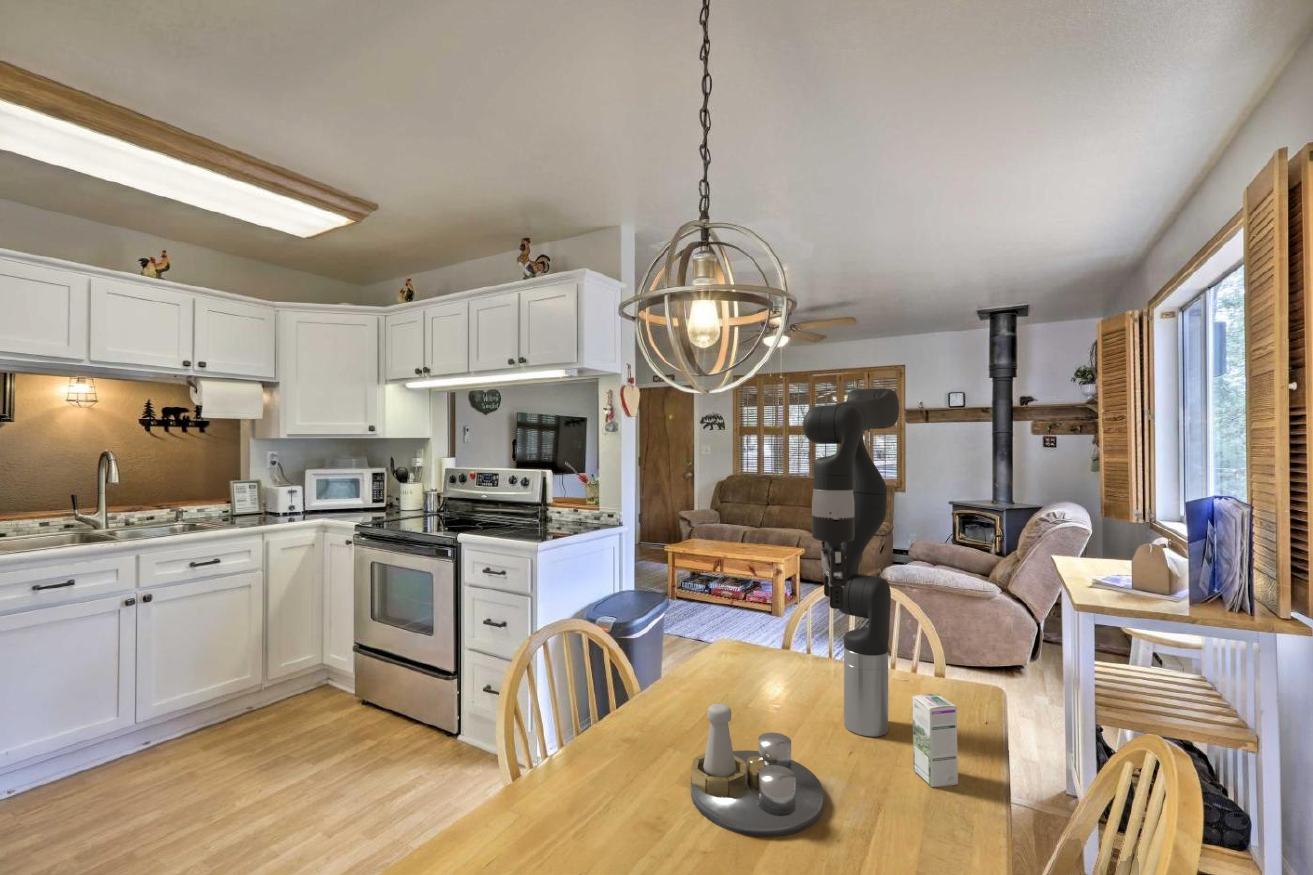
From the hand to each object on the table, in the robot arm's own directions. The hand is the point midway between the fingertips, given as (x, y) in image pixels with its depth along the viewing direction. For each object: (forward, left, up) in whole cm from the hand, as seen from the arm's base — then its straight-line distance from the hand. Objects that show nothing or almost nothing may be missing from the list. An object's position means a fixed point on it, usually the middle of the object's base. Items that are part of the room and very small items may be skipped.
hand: (833, 602), depth 111 cm
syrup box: (-5, +19, -33) cm, 39 cm away
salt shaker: (+6, -20, -31) cm, 38 cm away
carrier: (+6, -14, -33) cm, 36 cm away
